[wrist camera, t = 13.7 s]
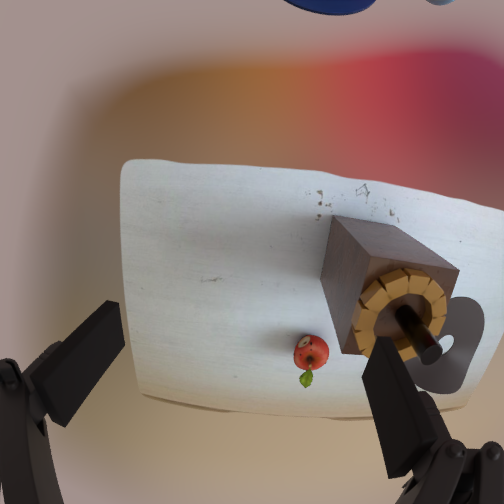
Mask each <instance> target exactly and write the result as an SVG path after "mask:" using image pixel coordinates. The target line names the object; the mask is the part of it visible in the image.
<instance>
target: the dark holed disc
mask: <svg viewBox="0 0 504 504" xmlns="http://www.w3.org/2000/svg"><path fill="white" fill-rule="evenodd" d="M445 316H446V319H445V321H444V324H443V326H442V328H441V331H440V333H439V335H438V336H436V335H435V338H436V340H437V341H439V340H440V339H441V338H442V337H444V336H446V335H452V336H453V337H454V343H453V346H452V347H451V349H450V350H449V351H448V352H447V353H446V354H445V355H444V356H441V357H440V358H439V359H438V360H437V361H436V362H435V363H433V364H431V365H427V366H426V365H423V364H422V363H421V362H420V360H419V358H418V357H413V358H411V359H409V360H406V361H404V364H405V366H406V368H407V370H408V372H409V374H410V376H411V378H412V380H413V382H414V384H416V385H417V386H418V387H420V388H422V389H424V390H426V391H429V392H432V393H437V394H451V393H454V392H456V391H458V390H459V389H460V387H461V385H462V383H463V381H464V378H465V376H466V373H467V370H468V367H469V365H470V362H471V360H472V358H473V356H474V353H475V351H476V349H477V347H478V345H479V342H480V340H481V337H482V334H483V330H484V314H483V310H482V308H481V306H480V305H479V304H478V303H477V302H476V301H475V300H473V299H471V298H467V297H457V298H452V299H450V301H449V303H448V306H447V314H445Z"/></svg>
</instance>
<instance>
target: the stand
mask: <svg viewBox="0 0 504 504" xmlns="http://www.w3.org/2000/svg"><path fill="white" fill-rule="evenodd" d="M404 268H408V269H414V270H420V271H423V272H424V273H427V274H428V275H429V276H430V277H431V278H432V279H434V281H435V282H436V283H437V284H438V285H439V286H440V287H441V289H442V290H443V291H444V294H445V296H446V308H447V306H448V303H449V301H450V298H451V295H452V292H453V289H454V286H455V284H456V281H457V277H458V274H459V271H460V270H459V269H457V268H456V267H454V266H453V265H452V264H450V263H449V262H448V261H446V260H445V259H443V258H442V257H441V256H439V255H438V254H436V253H435V252H433V251H432V250H430V249H429V248H428V247H426V246H425V245H423V244H422V243H420V242H419V241H417V240H416V239H414V238H413V237H411V236H410V235H408V234H407V233H405V232H403V231H402V230H400V229H399V228H397V227H396V226H392V225H387V224H382V223H376V222H371V221H365V220H360V219H354V218H348V217H343V216H337V215H333V217H332V222H331V228H330V233H329V238H328V244H327V249H326V254H325V259H324V263H323V268H322V273H321V278H320V281H321V284H322V287H323V290H324V294H325V297H326V300H327V304H328V307H329V310H330V314H331V317H332V321H333V324H334V327H335V331H336V334H337V338H338V342H339V345H340V349H341V352H342V354H354V355H363V354H362V353H361V351H359V349H358V346H357V343H356V340H355V337H354V333H353V329H352V326H351V324H352V321H351V319H352V316H353V313H354V309H355V306H356V303H357V300H361V298H360V296H361V295H362V293H363V292H364V291H365V290H366V289H367V288H368V287H369V286H370V285H371V284H372V283H373V282H374V281H375V280H377V281H378V282H379V283H381V282H380V278H379V277H380V276H382V275H385V274H387V273H390V272H392V271H395V270H397V269H401V270H402V271H403V270H404ZM361 301H362V300H361ZM403 305H410V306H411V307H412V308H413V309H414V310H415V312H416V313H417V314H418V315H419V317H420V318H421V319H422V318H423V315H424V313H425V310H426V308H425V300H424V297H423V296H422V295H419V294H411V293H407V294H405V295H402V296H400V297H398V298H395V299H393V300H391V301H390V302H389V303H388V304H387V305H386V306H385V307H384V308H383V309H382V310H381V311H380V312H379V313H378V316H377V319H376V322H375V325H374V327H373V331H374V335H375V336H376V337H377V336H383V337H391V339H392V340H393V341H397V340H399V339H402V338H404V337H406V336H405V335H404V333H403V331H402V330H401V328H400V327H399V325H398V323H397V322H396V320H395V313H396V311H397V309H398V308H399V307H401V306H403ZM434 336H435V335H434ZM416 357H418V356H416Z"/></svg>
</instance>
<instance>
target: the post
mask: <svg viewBox="0 0 504 504" xmlns="http://www.w3.org/2000/svg"><path fill="white" fill-rule="evenodd" d="M395 320H396V322H397V323H398V325H399V327H400V328H401V330H402V331H403V333H404V335H405V336H406V338H407V340H408V341H409V343H410V345H411V346H412V348H413V350H414V351H415V353H416V355H417V356H418V358H419V360H420V362H421V363H422V364H423V365H426V366H427V365H431V364H433V363H435V362H436V361H437V360H438V359H439V358H440V357H441V355H442V352H443V349H442V346H441V345H440V344H439V342H438V341H437V340H436V338H435V337H434V335H433V334H432V333H431V331H430V330H429V329H428V327H427V326H426V325H425V323H424V322H423V321H422V319H421V318H420V317H419V315H418V314H417V313H416V312H415V310H414V309H413V308H412V307H411V306H410V305H403V306H401V307H399V308H398V309H397V311H396V313H395Z"/></svg>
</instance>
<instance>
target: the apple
mask: <svg viewBox="0 0 504 504" xmlns="http://www.w3.org/2000/svg"><path fill="white" fill-rule="evenodd" d="M328 357H329V348H328V345H327V344H326V342H325V341H324V340H323V339H321V338H320V337H318V336H314V335H307V336H305V337H304V338H302V339H301V340H300V341H299V342H298V344H297V345H296V347H295V350H294V362H295V364H296V366H297V367H299V368H300V369H303V370H306V372H304V373H303V374H302V375H301V376H300V378H299V379H300V383H301V384H302V385H303V386H304V387H305V388H306V387H308V386H310V385H311V382H312V380H313V379H312V377H313V374H312V371H311V370H316V369H318V368H320V367H322V366H323V365H324V364H326V361H327V360H328Z"/></svg>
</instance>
